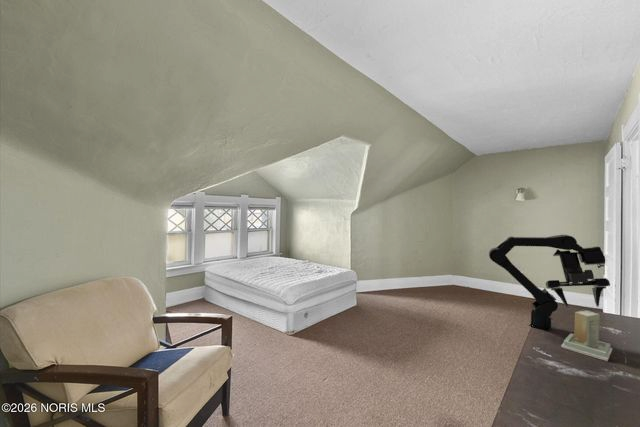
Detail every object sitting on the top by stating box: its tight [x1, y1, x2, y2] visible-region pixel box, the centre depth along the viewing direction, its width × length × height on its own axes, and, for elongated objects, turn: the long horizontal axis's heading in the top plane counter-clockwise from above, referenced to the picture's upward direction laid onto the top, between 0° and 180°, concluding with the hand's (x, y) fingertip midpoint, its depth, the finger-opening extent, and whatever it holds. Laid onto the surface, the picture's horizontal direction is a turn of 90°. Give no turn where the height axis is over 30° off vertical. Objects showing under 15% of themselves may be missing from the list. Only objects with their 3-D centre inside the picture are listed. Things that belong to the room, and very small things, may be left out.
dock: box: [560, 332, 613, 362], centre depth 106 cm, size 12×12×2 cm
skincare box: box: [573, 310, 601, 349], centre depth 106 cm, size 6×4×12 cm
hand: (582, 306), depth 114 cm, fingers open, 9 cm apart
